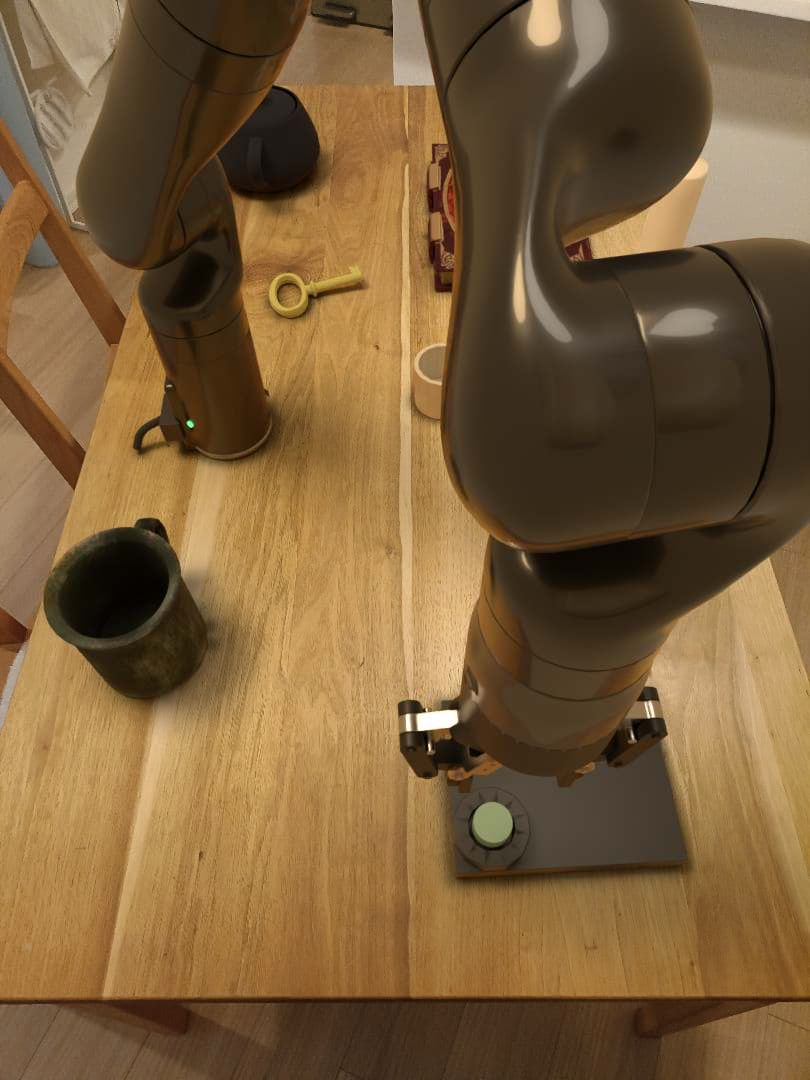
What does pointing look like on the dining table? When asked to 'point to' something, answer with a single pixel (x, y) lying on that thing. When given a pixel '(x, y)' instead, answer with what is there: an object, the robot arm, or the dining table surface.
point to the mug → (127, 609)
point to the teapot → (272, 145)
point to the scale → (571, 820)
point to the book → (444, 221)
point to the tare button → (492, 824)
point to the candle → (674, 213)
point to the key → (308, 289)
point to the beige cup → (429, 379)
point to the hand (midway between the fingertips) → (511, 773)
